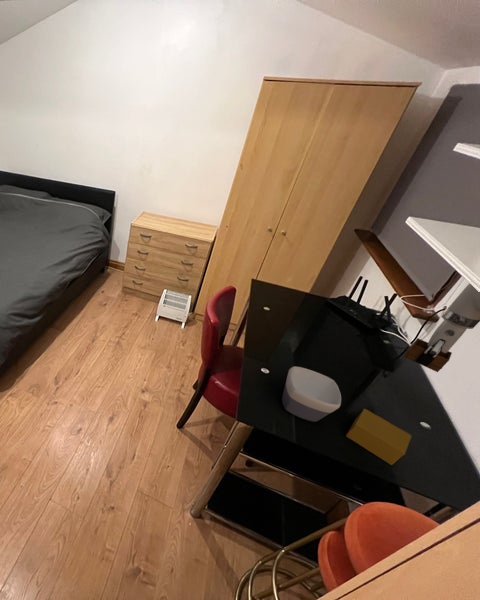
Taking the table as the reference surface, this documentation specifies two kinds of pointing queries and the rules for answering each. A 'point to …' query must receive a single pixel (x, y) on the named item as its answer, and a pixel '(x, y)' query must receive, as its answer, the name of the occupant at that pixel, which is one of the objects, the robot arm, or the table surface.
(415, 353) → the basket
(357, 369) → the table surface
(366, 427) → the box
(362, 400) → the table surface
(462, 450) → the table surface
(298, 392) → the bowl
